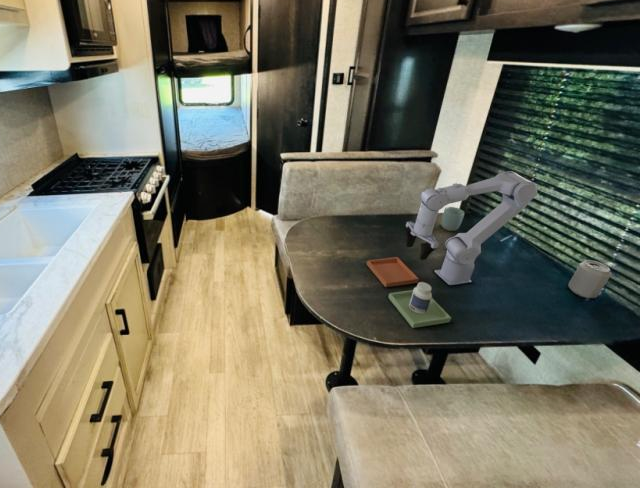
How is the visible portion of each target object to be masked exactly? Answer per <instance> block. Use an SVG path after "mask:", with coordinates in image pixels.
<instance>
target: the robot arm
mask: <svg viewBox="0 0 640 488" xmlns="http://www.w3.org/2000/svg"><path fill="white" fill-rule="evenodd" d="M492 192H498V193H501V194H502V202H501V203H500V204H498V205H497V206H496V207H495V208H494V209H493V210H492V211H490V212H489V213H488V214H487V215H485V216H484V217H483V218H482V219H481V220H479V222H477V223H476V224H474V226H473V227H472V228H470V229H469V230H468V231H467V232H458V233H457V234H455V235H454V236H451V237H449V238H448V239H447V240H446V241H445V243H444V246H445V249H447V250H446V254H445V256H444V259H443V263H442V266H441V269H435V270H434V273H435V274H436V275H438V276H439V278H440V279H442V280H443V281H444V282H445V283H446V284H447V285H448V286H454V285H462V284H469V283H472V280H471V278H472V275H473V273H474V270H475V268H476V267H475V266H476V265H475V261H476V260H477V258H478V256H479V255H480V254H481V253H482V247H481V246H482V244H483V243H484V242H486V240H488V239H489V238H490V237H491V236H493V235H494V234H495V233H496V232H498V231H499V230H500V229H502V228H503V227H504V226H505V225H506V224H508V223H509V222H510V221H511V220H512V219H514V217H516V216H517V215H518V214H519V213H521V212H522V211H523V210H524V209H525V208H526V207H527V206H528V204H529V203H530V202H531V201H532V200H533V199H534V198H536V197H537V196H538V195H539V194H538V186H537V184H536V183H535V182H533V181H530V180H529V179H527V178H525V177H523V176H521V175H519V174H518V173H517V172H515V171H512V170H511V171H505V172H500V173H497V174H496V175H495V176H493V177H490V178H487V179H483V180H481V181H476V182H474V183H470V184H467V185H463V184H462V183H457V182H456V183H453V184H452V185H449V186H443V187H437V188H427V189H425V190H422V192H421V193H420V194H419V199H420V206H419V209H418V212H417V216H416V219H415V222H413V221H406V224H405V227H406V228H404V229H403V233H404V235H405V244H406V245H405V246H406V248H413V247H414V245H415V242H416V239H417V238H418V239H419V238H420V239H421V240H423V241H425V242H421V243H420V254H419V260H420V261H424V260H427V258H428V257H429V256H430V255H431V254H432V253H433V252H434V251H435V250H437V249H438V248H439V245H440V243H439V241H437V240H436V238H435V236H434V235H433V234H432V233H433V231H434V227H435V224H436V221H437V218H438V216H439V215H438V214H439V212H440V211H441V210H442V209H443V208H444V207H446V206H448V205H449V204H454V203H459V202H463V201H466V200H467V199H468V197H470V196H475V195H481V194H486V193H492Z"/></svg>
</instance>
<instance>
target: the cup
mask: <svg viewBox="0 0 640 488" xmlns="http://www.w3.org/2000/svg"><path fill="white" fill-rule="evenodd" d="M465 213H466V212H465V211H464V210H462V209H461V208H459V207H454V206H445V208H444V209H443V213H442V216H441V221H440V223H441V228H443V229H444V230H445V231H449V232H456V231H458V230H459V228H460V227H461V225H462V223H463V220H464V217H465Z"/></svg>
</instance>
